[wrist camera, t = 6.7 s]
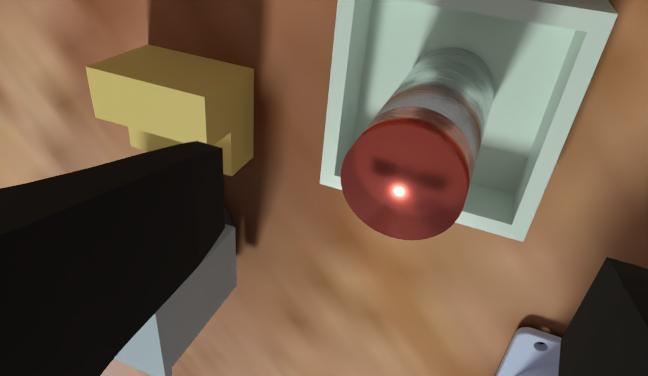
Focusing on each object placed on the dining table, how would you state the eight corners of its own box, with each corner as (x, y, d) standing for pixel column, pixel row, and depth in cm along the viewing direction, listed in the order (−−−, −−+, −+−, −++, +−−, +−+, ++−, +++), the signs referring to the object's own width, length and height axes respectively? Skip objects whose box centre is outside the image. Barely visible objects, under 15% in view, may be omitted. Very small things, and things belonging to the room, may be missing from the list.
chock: (256, 67, 18) (204, 96, 16) (255, 155, 21) (209, 195, 18) (151, 43, 20) (85, 66, 17) (160, 128, 22) (103, 162, 19)
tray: (605, -3, 13) (618, 14, 11) (524, 202, 17) (523, 242, 15) (367, -39, 15) (341, -30, 13) (342, 153, 19) (319, 183, 17)
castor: (251, 184, 21) (150, 284, 16) (251, 285, 25) (168, 396, 19) (163, 158, 23) (40, 242, 17) (174, 258, 26) (76, 354, 20)
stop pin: (506, 57, 14) (481, 149, 9) (480, 138, 16) (448, 255, 11) (416, 39, 15) (347, 114, 10) (400, 118, 17) (335, 219, 11)
